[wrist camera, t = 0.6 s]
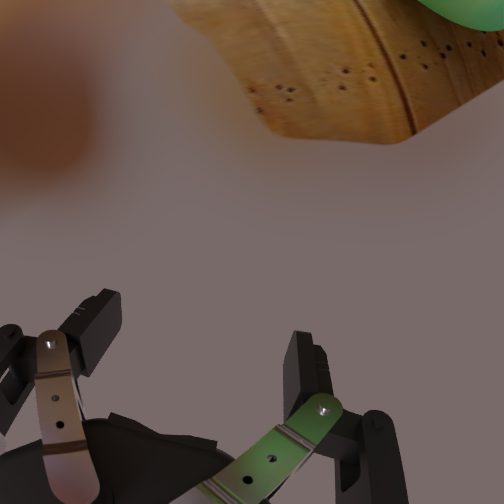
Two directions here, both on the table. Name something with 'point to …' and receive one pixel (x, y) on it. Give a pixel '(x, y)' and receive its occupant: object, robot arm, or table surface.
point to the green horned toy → (470, 12)
